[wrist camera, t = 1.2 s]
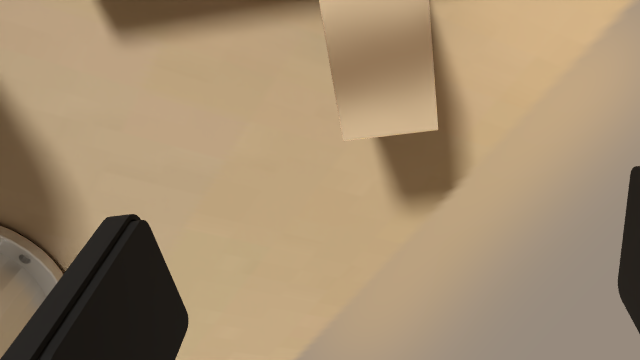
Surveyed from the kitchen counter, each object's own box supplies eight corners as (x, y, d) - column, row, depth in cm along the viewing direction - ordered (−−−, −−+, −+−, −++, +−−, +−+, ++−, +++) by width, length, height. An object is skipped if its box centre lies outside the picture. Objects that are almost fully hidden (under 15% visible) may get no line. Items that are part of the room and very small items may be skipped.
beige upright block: (421, 59, 30) (438, 129, 22) (350, 69, 31) (343, 141, 23) (412, -55, 27) (427, -20, 19) (333, -42, 28) (318, -2, 20)
